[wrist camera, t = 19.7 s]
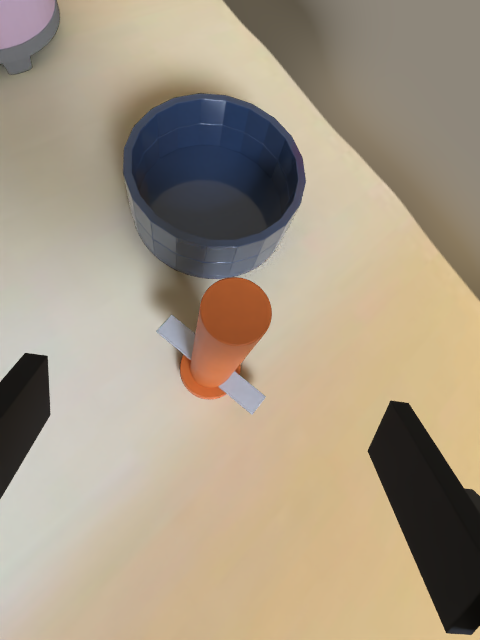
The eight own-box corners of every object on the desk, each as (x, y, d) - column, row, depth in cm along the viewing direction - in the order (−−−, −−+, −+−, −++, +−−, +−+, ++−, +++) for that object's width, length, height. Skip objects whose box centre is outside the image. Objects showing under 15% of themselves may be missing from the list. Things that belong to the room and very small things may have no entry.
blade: (145, 354, 29) (117, 280, 15) (184, 312, 30) (189, 211, 17) (237, 431, 28) (289, 422, 15) (272, 384, 29) (349, 338, 16)
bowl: (112, 162, 33) (99, 110, 28) (252, 132, 36) (264, 81, 31) (161, 299, 30) (158, 270, 25) (309, 253, 33) (333, 219, 28)
